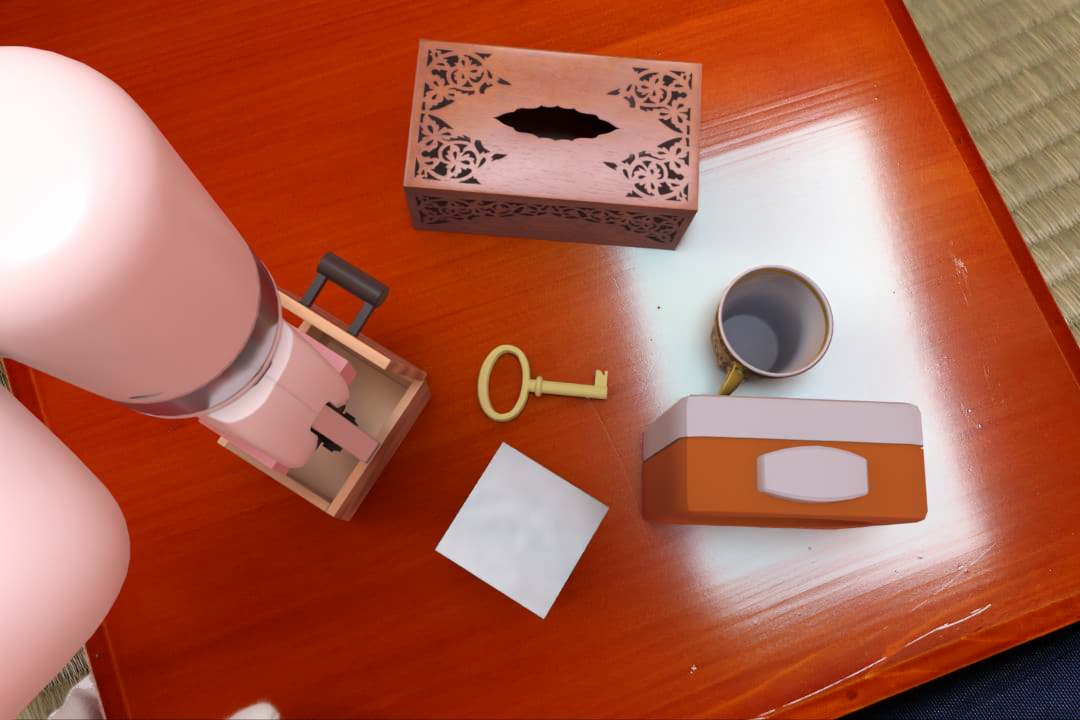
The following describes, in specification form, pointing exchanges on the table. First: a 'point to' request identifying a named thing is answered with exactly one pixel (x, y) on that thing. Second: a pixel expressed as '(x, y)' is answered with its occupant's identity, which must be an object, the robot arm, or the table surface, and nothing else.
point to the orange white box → (784, 463)
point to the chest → (379, 411)
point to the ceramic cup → (770, 326)
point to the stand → (522, 530)
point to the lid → (351, 335)
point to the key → (532, 385)
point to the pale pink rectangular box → (341, 367)
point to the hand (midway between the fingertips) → (285, 400)
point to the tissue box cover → (553, 145)
